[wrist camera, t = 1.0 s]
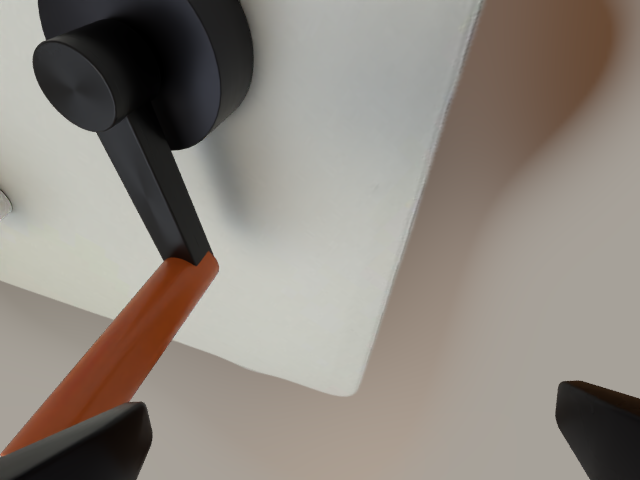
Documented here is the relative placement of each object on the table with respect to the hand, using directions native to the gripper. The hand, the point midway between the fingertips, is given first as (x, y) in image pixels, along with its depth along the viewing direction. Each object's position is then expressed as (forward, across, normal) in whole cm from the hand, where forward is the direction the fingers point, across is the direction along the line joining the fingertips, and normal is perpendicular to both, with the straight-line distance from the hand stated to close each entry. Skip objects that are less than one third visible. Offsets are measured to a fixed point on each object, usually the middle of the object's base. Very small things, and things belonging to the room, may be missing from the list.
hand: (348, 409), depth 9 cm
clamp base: (+12, -7, +10) cm, 17 cm away
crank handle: (+12, -8, +4) cm, 15 cm away
